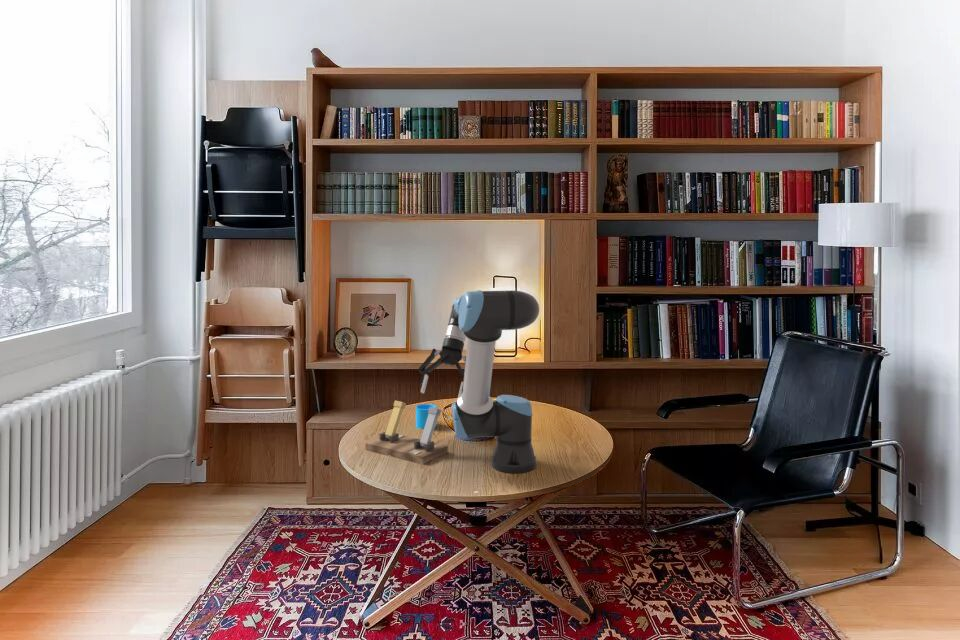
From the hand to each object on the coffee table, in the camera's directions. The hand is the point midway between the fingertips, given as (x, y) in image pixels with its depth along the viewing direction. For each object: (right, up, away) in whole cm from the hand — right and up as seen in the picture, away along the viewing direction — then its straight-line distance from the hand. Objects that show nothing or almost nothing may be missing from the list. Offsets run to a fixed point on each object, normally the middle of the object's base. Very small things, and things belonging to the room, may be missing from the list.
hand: (440, 396), depth 230 cm
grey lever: (-5, -17, -3) cm, 18 cm away
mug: (-8, -16, +32) cm, 37 cm away
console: (-12, -20, +2) cm, 23 cm away
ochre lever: (-19, -15, +5) cm, 25 cm away
